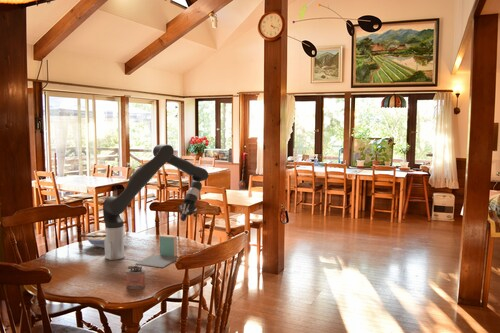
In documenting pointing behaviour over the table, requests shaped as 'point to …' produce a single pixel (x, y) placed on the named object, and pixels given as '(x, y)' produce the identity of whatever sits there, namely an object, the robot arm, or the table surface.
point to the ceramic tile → (168, 245)
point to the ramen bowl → (97, 238)
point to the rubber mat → (157, 261)
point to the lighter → (135, 277)
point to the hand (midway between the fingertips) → (182, 220)
